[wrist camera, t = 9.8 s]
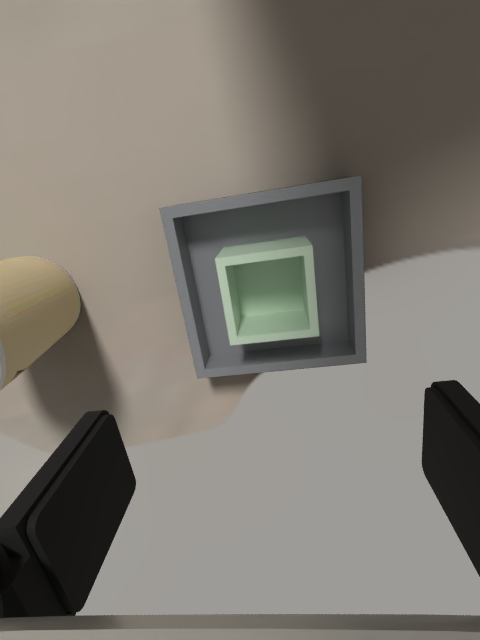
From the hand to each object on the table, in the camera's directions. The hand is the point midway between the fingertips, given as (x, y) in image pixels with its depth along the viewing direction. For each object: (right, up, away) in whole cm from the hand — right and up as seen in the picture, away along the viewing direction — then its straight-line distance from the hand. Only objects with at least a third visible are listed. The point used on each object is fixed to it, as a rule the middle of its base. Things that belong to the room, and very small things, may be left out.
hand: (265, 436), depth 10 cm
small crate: (+2, +7, +18) cm, 19 cm away
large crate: (+2, +7, +19) cm, 20 cm away
